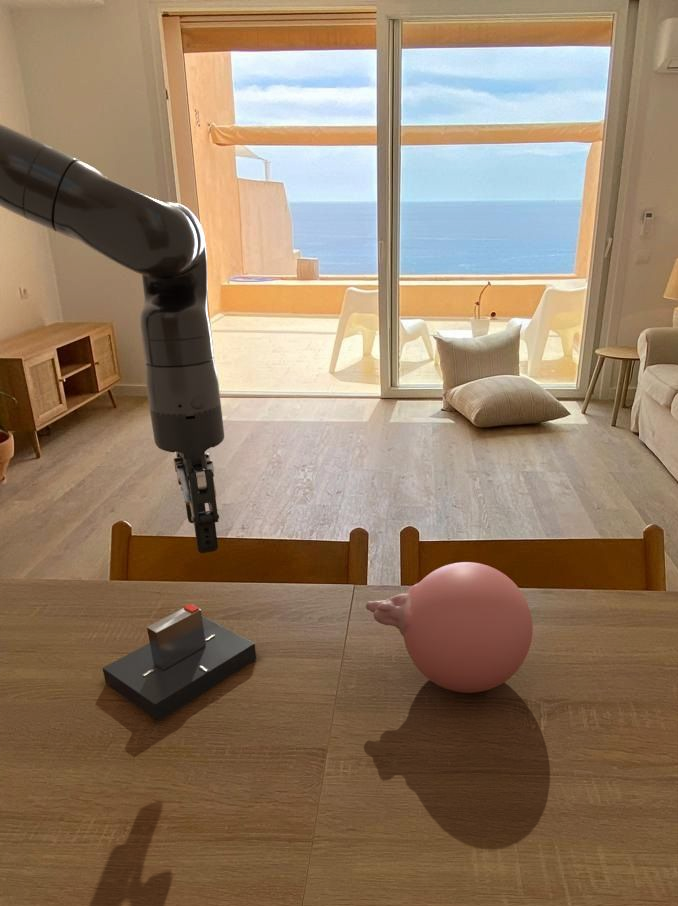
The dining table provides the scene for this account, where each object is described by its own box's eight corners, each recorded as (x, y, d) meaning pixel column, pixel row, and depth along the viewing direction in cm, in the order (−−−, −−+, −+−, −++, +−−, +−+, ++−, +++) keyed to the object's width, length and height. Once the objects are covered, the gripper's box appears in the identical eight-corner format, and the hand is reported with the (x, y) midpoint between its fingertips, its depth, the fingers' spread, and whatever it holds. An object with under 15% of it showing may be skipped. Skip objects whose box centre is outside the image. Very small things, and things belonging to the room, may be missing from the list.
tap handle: (163, 670, 84) (156, 631, 82) (153, 664, 86) (146, 625, 83) (206, 645, 89) (200, 607, 87) (196, 640, 90) (190, 602, 88)
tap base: (158, 721, 80) (154, 703, 79) (105, 684, 86) (101, 666, 85) (256, 659, 90) (254, 642, 89) (203, 630, 97) (201, 614, 96)
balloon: (382, 632, 96) (381, 532, 89) (530, 650, 91) (539, 546, 85) (352, 704, 82) (347, 592, 76) (524, 730, 78) (534, 613, 71)
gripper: (144, 390, 80) (163, 517, 87) (155, 423, 68) (176, 568, 75) (209, 383, 83) (224, 508, 89) (231, 414, 71) (246, 556, 77)
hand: (202, 535), depth 82 cm, fingers open, 8 cm apart
